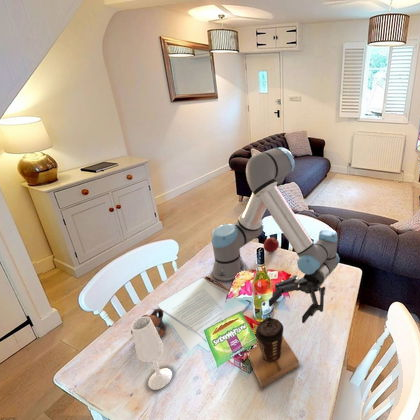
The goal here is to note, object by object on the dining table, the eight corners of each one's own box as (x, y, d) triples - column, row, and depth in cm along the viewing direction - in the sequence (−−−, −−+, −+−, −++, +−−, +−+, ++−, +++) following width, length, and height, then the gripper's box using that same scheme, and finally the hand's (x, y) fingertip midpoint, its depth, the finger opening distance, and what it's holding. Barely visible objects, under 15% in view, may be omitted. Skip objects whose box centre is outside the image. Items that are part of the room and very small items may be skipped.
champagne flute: (166, 364, 88) (148, 309, 78) (176, 377, 84) (159, 322, 74) (144, 379, 83) (122, 324, 73) (153, 394, 79) (132, 338, 69)
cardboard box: (246, 354, 92) (245, 348, 90) (280, 337, 98) (279, 331, 97) (261, 388, 82) (261, 381, 80) (298, 366, 88) (298, 360, 87)
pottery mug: (160, 345, 95) (141, 334, 90) (142, 348, 98) (123, 338, 93) (175, 313, 104) (159, 302, 99) (158, 316, 107) (142, 306, 102)
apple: (273, 256, 143) (272, 244, 139) (261, 252, 146) (260, 239, 143) (281, 249, 149) (281, 237, 145) (269, 245, 152) (269, 233, 149)
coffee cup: (271, 338, 94) (269, 311, 88) (289, 351, 90) (289, 323, 84) (252, 357, 87) (249, 328, 82) (271, 371, 83) (270, 343, 78)
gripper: (344, 295, 103) (317, 335, 87) (290, 273, 114) (257, 305, 98) (345, 280, 100) (318, 319, 83) (290, 258, 111) (256, 289, 94)
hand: (285, 311), depth 90 cm, fingers open, 13 cm apart
